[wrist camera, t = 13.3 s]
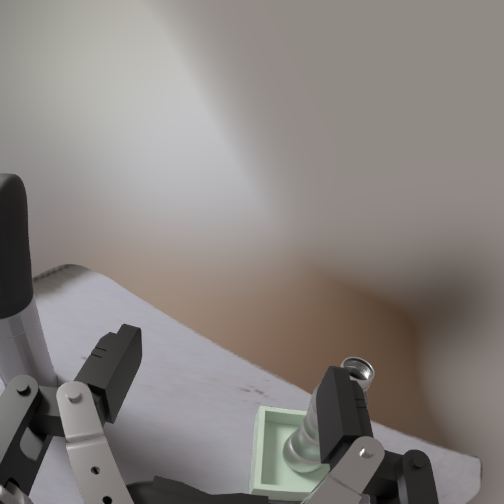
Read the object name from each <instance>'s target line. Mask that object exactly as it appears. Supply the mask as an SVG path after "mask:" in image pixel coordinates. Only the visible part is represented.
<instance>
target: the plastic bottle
mask: <svg viewBox="0 0 504 504" xmlns="http://www.w3.org/2000/svg"><path fill="white" fill-rule="evenodd" d="M340 367H345V368H348V370H349V375H350V379H351V380H356V381H357V382H358V383H359V385H360V386H361V388H362V389H363V392H364V397H365V401H366V405H367V406H368V397H367V392H366V391H367V390H368V388H369V386H370V384H371V381H372V379H373V378H374V374H375V372H374V369H373V367H372V366H371V365H370V364H369V363H368V362H367V361H365V360H363V359H361V358H358V357H348V358H346V359H345V360H344V361H343V362H342V364H341V366H340ZM320 384H321V383H320ZM320 384H319V385H318V386H317V387H316V388H315V390H314V392H313V395H312V398H311V401H310V404H309V408H308V411H307V413H306V415H305V418H304V420H303V422H302V423H301V425H300V426H299V427H298V428H297V430H296V431H295V432H293V433H292V434H291V435H290V436H289V437H288V439H287V440H286V441H285V443H284V447H283V451H282V455H283V459H284V461H285V463H286V464H287V465H288V466H289V467H290V468H291V469H293V470H295V471H297V472H300V473H312V472H315V471H317V470H319V469H320V468H322V467H323V466H324V465H325V464H321V460H320V446H319V433H318V421H317V409H316V394H317V390H318V388H319V386H320Z"/></svg>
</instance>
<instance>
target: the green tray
mask: <svg viewBox="0 0 504 504" xmlns="http://www.w3.org/2000/svg"><path fill="white" fill-rule="evenodd" d="M306 413H307V411H298V410H289V409H281V408H274V407H267V406H260V407H259V410H258V413H257V415H256V418H255V426H254V438H253V449H252V461H251V472H250V483H249V494H252V495H262V496H269V498H268V499H269V500H282V501H303V500H304V499H305V498H306V497H307V496H308V495H309V494H310V492H311V491H312V490H313V489H314V488H315V487H316V486H317V484H318V483H319V482H320V481H321V480H322V478H323V477H324V476H325V475H326V474H327V472H328V471H329V470H330V465H329V464H325V465H324V466H323V467H322V468H320V469H319V470H317V471H315V472H312V473H300V472H297V471H295V470H293V469H291V468H290V467H289V466H288V465H287V464H286V463H285V461H284V459H283V455H282V451H283V447H284V443H285V441H286V440H287V439H288V437H289V436H290V435H291V434H292V433H293V432H295V431H296V430H297V428H298V427H299V426H300V425H301V423H302V422H303V420H304V418H305V415H306Z"/></svg>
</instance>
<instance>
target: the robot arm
mask: <svg viewBox="0 0 504 504" xmlns="http://www.w3.org/2000/svg"><path fill="white" fill-rule="evenodd" d="M27 209H28V208H27V197H26V191H25V187H24V184H23V182H22V180H21V178H20V177H19V176H17V175H15V174H0V377H1V379H2V381H3V383H4V385H5V386H6V388H5V389H4V391H3V393H2V394H1V396H0V504H33V502H32V500H31V499H30V498H29V497H28V496H29V493H30V491H31V488H32V485H33V483H34V480H35V478H36V475H37V473H38V470H39V468H40V465H41V463H42V461H43V458H44V456H45V454H46V451H47V449H48V447H49V444H50V442H51V440H52V438H53V436H61V437H66V441H65V444H66V449H67V452H68V456H69V459H70V462H71V466H72V469H73V472H74V475H75V478H76V481H77V484H78V487H79V490H80V493H81V495H82V498H83V501H84V503H85V504H272V503H269V502H268V498H269V496H262V495H252V494H244V493H236V494H220V495H211V494H207V493H205V492H202V491H200V490H198V489H195V488H193V487H191V486H189V485H187V484H184V483H182V482H178V481H174V480H170V479H166V478H162V477H158V476H155V477H154V480H153V481H144V482H136V483H132V484H129V485H126V486H125V483H124V481H123V479H122V477H121V474H120V472H119V470H118V467H117V465H116V462H115V460H114V457H113V455H112V452H111V450H110V447H109V445H108V442H107V439H106V437H105V434H104V431H103V429H102V428H103V426H104V424H105V421H106V422H109V423H112V424H114V421H115V419H116V417H117V415H118V412H119V410H120V408H121V406H122V403H123V401H124V399H125V397H126V395H127V392H128V390H129V388H130V386H131V384H132V382H133V379H134V377H135V375H136V373H137V371H138V369H139V366H140V363H141V359H142V338H141V329H140V328H138V327H134V326H131V325H127V324H123V325H122V326H121V328H120V329H119V331H118V332H117V334H115V333H112V332H109V333H108V334H106V335H105V336H103V337H102V338H101V339H100V340H99V342H98V343H97V345H96V346H95V348H94V349H93V351H92V352H91V355H90V356H89V357H88V359H87V360H86V362H85V363H84V365H83V367H82V368H81V370H80V371H79V373H78V375H77V376H76V378H75V379H74V380H73V381H69V382H66V383H64V384H62V385H61V386H60V387H59V388H57V378H56V375H55V372H54V369H53V366H52V362H51V359H50V356H49V352H48V349H47V345H46V342H45V338H44V334H43V331H42V327H41V323H40V319H39V314H38V310H37V306H36V301H35V296H34V292H33V286H32V274H31V259H30V250H29V237H28V210H27ZM316 409H317V421H318V433H319V446H320V460H321V464H329V465H330V470H329V471H328V472H327V474H326V475H325V476H324V477H323V478H322V480H321V481H320V482H319V483H318V484H317V486H316V487H315V488H314V489H313V490H312V491H311V492H310V494H309V495H308V496H307V497H306V498H305V499H304V500H303V501H302V502H301V503H300V504H358V503H359V501H360V500H361V498H362V495H361V493H364V494H368V495H370V502H371V504H439V502H438V497H437V491H436V486H435V481H434V476H433V472H432V467H431V463H430V460H429V458H428V456H427V455H426V454H425V453H424V452H422V451H420V450H409V451H407V452H406V453H405V454H404V455H400V454H397V453H393V452H389V451H386V450H384V448H383V446H382V444H381V443H380V442H379V441H378V440H376V439H375V438H374V437H373V433H372V428H371V423H370V419H369V414H368V410H367V405H366V401H365V397H364V392H363V389H362V388H361V386H360V385H359V383H358V382H357V381H356V380H351V379H350V375H349V370H348V368H345V367H336V366H330V367H329V368H328V370H327V372H326V374H325V376H324V378H323V380H322V382H321V384H320V386H319V388H318V390H317V394H316Z"/></svg>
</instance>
